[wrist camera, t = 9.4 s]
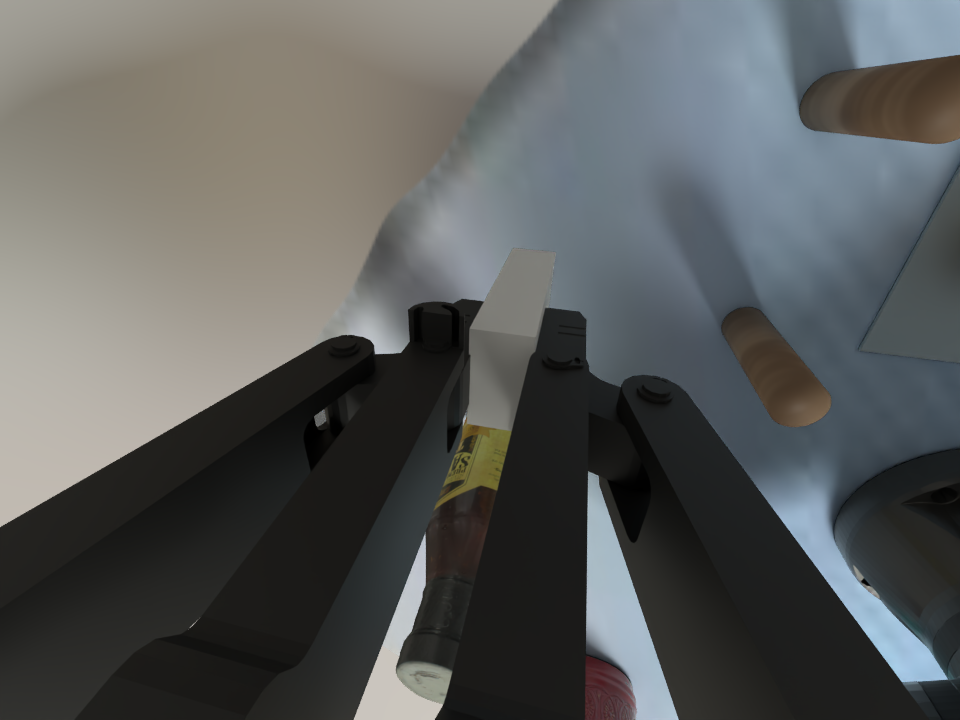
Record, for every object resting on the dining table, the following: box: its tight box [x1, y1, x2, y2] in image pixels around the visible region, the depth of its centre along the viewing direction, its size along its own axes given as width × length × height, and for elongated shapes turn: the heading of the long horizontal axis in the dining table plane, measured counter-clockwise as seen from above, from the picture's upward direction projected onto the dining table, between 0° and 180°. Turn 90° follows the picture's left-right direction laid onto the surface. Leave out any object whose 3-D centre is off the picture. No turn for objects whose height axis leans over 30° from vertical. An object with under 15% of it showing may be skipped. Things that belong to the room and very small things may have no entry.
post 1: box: [721, 307, 831, 427], centre depth 25 cm, size 3×3×9 cm
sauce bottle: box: [396, 417, 512, 704], centre depth 28 cm, size 7×6×20 cm
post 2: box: [800, 55, 960, 144], centre depth 18 cm, size 3×3×9 cm
